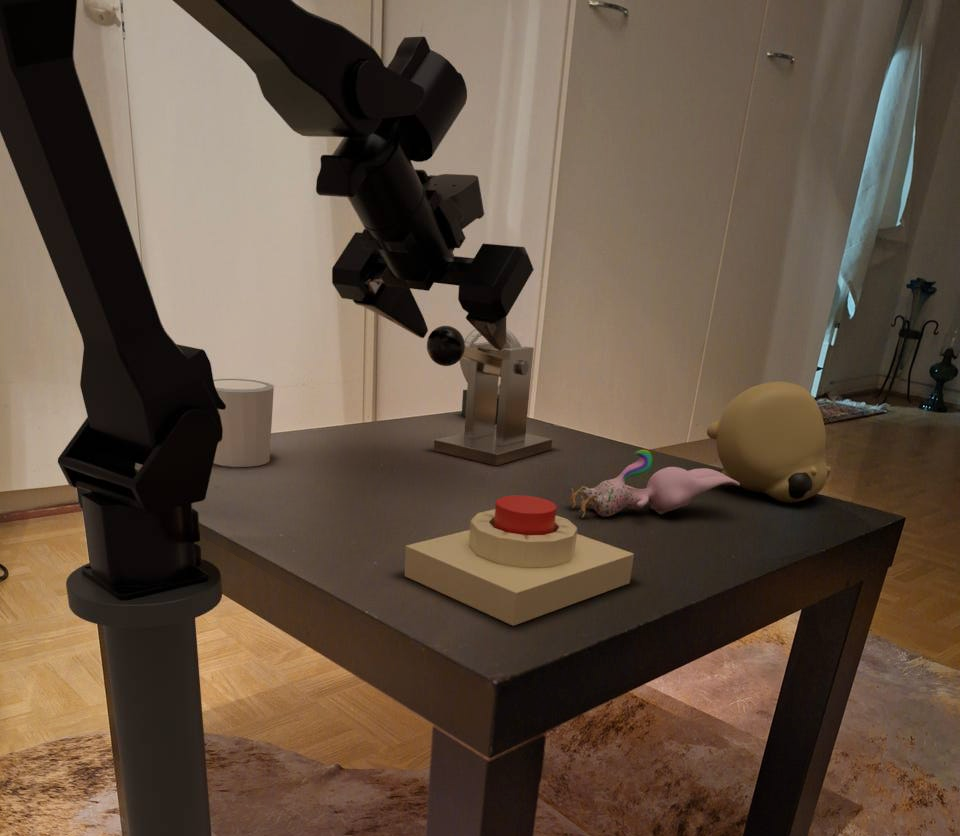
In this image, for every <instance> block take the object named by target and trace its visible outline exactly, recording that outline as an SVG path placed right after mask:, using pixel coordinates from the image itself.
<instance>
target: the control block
mask: <svg viewBox="0 0 960 836" xmlns="http://www.w3.org/2000/svg"><path fill="white" fill-rule="evenodd" d="M494 519H495V508H494V509H490V510H485V511H481V512H478V513H476V515H474V517H472V519H470V525H469V526H470V527H469V529H468V530H464V531H460V532H456V533H451V534H448V535H447V534H446V535H443V536H439V537H435V538H432V539H428V540H422V541H419V542H415V543H411V544H407V545H405V555H404V556H405V557H404V577H405V578H408V579H410V580H412V581H415V582H417V583H419V584H421V585H423V586H425V587H426V588H430V589H432V590H434V591H436V592H438V593H440V594H443V595H445V596H446V597H449V598H451V599H453V600H455V601H458V602H460V603H462V604H464V605H466V606H469V607H471V608H473V609H475V610H476V611H479V612H482V613H484V614H486V615H488V616H490V617H492V618H495V619H497V620H499V621H501V622H503V623H506V624H508V625H510V626H512V627H514V626H517V625H519V624H522V623H526V622H528V621H531V620H533V619H536V618H539V617H541V616H544V615H547V614H550V613H553V612H555V611H558V610H560V609H563V608H566V607H569V606H572V605H574V604H578V603H579V602H583V601H585V600H588V599H590V598H593V597H596V596H599V595H601V594H604V593H607V592H609V591H612V590H615V589H618V588H621V587H624V586H626V585H629V584H630V583H631V579H632V571H633V565H634V564H633V563H634V558H635V553H634V552H631V551H628V550H624V549H623V548H622V549H621V548H619V547H617V546H613V545H611V544H608V543H604V542H603V541H599V540H596V539H593V538H591V537H587V536H585V535H582V534H579V533H578V527H577V526H576V525H575V524H574V523H573V522H571V521H570V520H569V519H567V518H565V517H562V516H559V515H556V517H555V526H554V532H553V533H550V534H546V535H521V534H514V533H507V532H504V531H501V530H499V529H496V528H494Z"/></svg>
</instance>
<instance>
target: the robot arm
mask: <svg viewBox="0 0 960 836" xmlns="http://www.w3.org/2000/svg"><path fill="white" fill-rule="evenodd" d="M172 1H173V2H174V3H175V4H176V5H177V6H179V7H180V8H181V9H182V10H183V11H184V12H185V13H186V14H188V15H189V16H191V18H193V19H194V20H195V21H196V22H198V23H199V24H200V25H201V26H202V27H203V28H205V30H207V31H208V32H209V33H210V34H211V35H213V36H214V37H215V38H216V39H217V40H219V42H221V43H222V44H223V45H224V46H225V47H227V48H228V49H229V50H230V51H232V52H233V53H234V54H235V55H236V56H238V57H239V58H240V59H241V60H242V61H243V62H244V63H245V64H246V65H247V67H249V69H250V70H251V71H252V73H254V75H255V77H256V81H257V83H258V86H259V88H260V92H261V94H262V96H263V98H264V100H265V101H266V102H267V103H268V104H269V105H270V107H271V108H273V110H274V111H275V112H276V113H277V115H279V116H280V118H281V119H282V120H283V121H284V123H286V125H287V126H288V127H289V128H290V129H291V130H292V131H293V132H295V133H296V134H298V135H300V136H302V137H307V138H308V137H309V138H313V137H315V138H321V137H322V138H341V141H340V142H339V144H338V145H337V147H336V148H335V150H334V151H333V152H332V154H321V156H320V160H319V161H320V168H319V171H318V174H317V178H316V184H315V192H316V194H317V195H318V196H323V197H324V196H325V197H337V198H347V199H348V201H349V203H350V205H351V206H352V208H353V211H354V212H355V214H356V216H357V217H358V219H359V221H360V222H361V225H362V226H363V228H364V229H362V231H361V232H359V231H358V232H357V231H356V232H354V234H353V235H352V237H351V238H350V240H349V242H348V243H347V245H346V246H345V248H344V249H343V251H342V252H341V254H340V256H339V257H338V258H337V260H336V261H335V263H334V264H333V266H332V267H331V283H332V286H333V287H334V288H335V290H336V292H337V293H338V295H339V296H340V298H341V299H344V300H352V302H353V303H354V304H355V305H357V306H361V307H363V308H364V309H365V308H366V309H367V310H369V311H371V312H372V313H375V314H376V315H378V316H381V317H383V318H384V319H386V320H388V321H390V322H392V323H394V324H395V325H397V326H399V327H401V328H402V329H404V330H406V331H407V332H409V333H411V334H413V335H415V336H416V337H418V338H420V339H424V338H425V337H426V335H427V334H428V331H429V328H428V326H427V323H426V320H425V317H424V315H423V313H422V311H421V309H420V307H419V305H418V302H417V300H416V298H415V297H414V293H413V292H412V290H419V291H427V292H430V290H431V288H432V286H433V285H434V284H442V285H449V286H458V295H457V300H458V302H459V304H460V306H461V308H462V310H464V311H465V312H466V313H467V314H466V316H465V319H466V321H467V322H468V323H470V324H471V326H472V327H473V328H474V329H476V330H477V331H478V332H479V333H480V334H481V335H482V336H481V337H483V338H484V339H485V340H486V341H487V342H489V343H490V344H491V345H492V346H493V347H495V348H496V349H497V350H500V351H501V350H502V349H503V347H504V345H505V344H506V329H507V317H508V315H509V314H510V312H511V310H512V308H513V307H514V305H515V303H516V302H517V299H518V298H519V296H520V294H521V293H522V291H523V289H524V288H525V286H526V284H527V282H528V280H529V278H530V277H531V275H532V273H533V272H534V270H535V269H534V266H533V264H532V261H531V259H530V256H529V253H528V252H527V249H526V246H518V245H517V246H516V245H507V244H494V243H482V244H481V246H480V247H479V249H478V251H477V253H476V254H475V255H474V257H469V256H468V257H467V256H457V255H455V254H454V251H455V249H461V247H462V245H463V243H465V240H466V235H465V233H464V231H463V230H464V229H465V228H467V227H468V226H469V225H471V224H472V223H474V221H476V220H477V219H479V220H480V219H482V218H483V217H484V216H485V211H484V203H483V198H482V192H481V186H480V181H479V176H477V175H474V174H456V173H455V174H453V173H442V174H435V175H433V174H429V175H428V174H427V172H426V170H425V169H415V167H414V164H413V163H412V162H415V163H422V162H426V161H429V160H430V159H431V158H432V157H433V156H434V154H435V152H436V151H437V149H438V148H439V147H440V145H441V143H442V141H443V140H444V138H445V137H446V136H447V133H448V132H449V131H450V129H451V127H452V126H453V125H454V123H455V122H456V120H457V118H458V117H459V115H460V114H461V112H462V110H463V109H464V107H465V105H466V102H467V100H468V89H467V84H466V81H465V79H464V77H463V74H461V72H459V71H457V69H456V67H455V66H454V65H453V64H452V62H450V61H449V60H448V58H446V57H445V56H443V55H442V54H441V53H438V52H436V51H435V50H432V49H431V48H430V45H429V43H428V40H427V38H426V36H422V35H421V36H407V37H406V36H405V37H404V38H403V39H402V41H401V42H400V43H399V45H398V46H397V48H396V51H395V53H394V56H393V58H392V59H391V61H390V62H389V64H388V65H387V67H386V65H385V64H384V61H383V60H382V57H381V56H380V55H379V53H378V52H377V51H376V49H375V48H374V47H373V46H372V45H371V44H369V43H368V42H367V41H365V40H363V39H362V38H361V37H359V36H358V35H356V34H355V33H354V32H352V31H351V30H349V29H348V28H346V26H343V25H341V24H339V23H336V22H334V21H332V20H329V19H327V18H324V17H322V16H319V15H317V14H315V13H312V12H310V11H308V10H307V9H304V8H303V7H301V5H299V4H297V3H296V2H295V1H294V0H172ZM77 9H78V0H0V135H1V137H2V140H3V143H4V145H5V148H6V150H7V152H8V155H9V158H10V160H11V162H12V165H13V168H14V170H15V172H16V175H17V177H18V180H19V183H20V185H21V187H22V190H23V192H24V196H25V198H26V200H27V203H28V205H29V208H30V210H31V213H32V215H33V217H34V220H35V223H36V225H37V229H38V230H39V233H40V236H41V238H42V240H43V242H44V243H43V244H44V246H45V248H46V250H47V253H48V255H49V258H50V260H51V263H52V265H53V268H54V270H55V273H56V276H57V278H58V280H59V281H58V282H59V283H60V286H61V288H62V290H63V293H64V295H65V298H66V301H67V303H68V305H69V308H70V311H71V313H72V316H73V318H74V320H75V323H76V325H77V328H78V331H79V333H80V336H81V339H82V344H83V352H82V363H81V370H80V372H81V373H80V380H79V386H80V387H79V388H80V391H81V395H82V400H83V403H84V408H85V412H86V416H87V417H86V418H85V420H84V421H83V422H82V424H81V426H80V427H79V428H78V430H77V431H76V432H75V434H74V435H73V437H72V438H71V440H70V441H69V442H68V443H67V445H66V446H65V448H64V449H63V451H62V452H61V453H60V455H59V456H58V458H57V464H58V466H59V468H60V470H61V471H62V474H63V475H64V478H65V480H66V481H67V484H68V485H69V486H70V487H72V488H75V489H76V488H79V489H82V490H84V491H87V492H85V493H82V494H81V502H82V509H83V517H84V525H85V533H86V540H87V549H88V555H89V563H90V565H86V564H85V565H86V566H83V565H82V566H83V567H82V568H81V571H82V574H83V575H84V576H86V577H87V578H88V579H90V580H91V581H93V582H94V583H95V584H97V585H98V586H100V587H101V588H103V589H104V590H105V591H107V592H108V593H110V594H111V595H113V596H114V597H115V598H117V599H118V600H122V601H126V600H131V599H135V598H140V597H144V596H148V595H152V594H157V593H161V592H165V591H169V590H174V589H178V588H182V587H186V586H191V585H195V584H199V583H203V582H207V581H208V574H207V573H206V572H204V571H202V570H201V569H199V568H197V566H200V565H201V563H202V559H203V558H202V547H201V545H198V544H197V543H198V542H200V541H201V532H200V516H199V511H197V510H196V509H195V508H193V505H192V504H195V503H200V502H203V501H205V499H206V497H207V493H208V488H209V485H210V484H209V483H210V479H211V475H212V470H213V467H214V463H213V462H214V458H215V453H216V449H217V445H218V442H220V441H221V440H222V437H223V427H222V421H221V416H220V413H219V411H218V409H221V410H225V408H226V405H225V404H224V402H223V401H222V400H221V398H220V397H219V395H218V393H217V390H216V388H215V385H214V380H215V379H214V374H213V370H212V368H213V367H212V363H211V360H210V358H209V356H208V354H207V352H206V351H205V350H204V349H203V348H197V347H193V346H188V345H184V344H183V345H182V344H179V343H176V342H175V341H174V339H173V338H172V337H171V336H170V335H169V334H168V332H167V331H166V330H165V328H164V325H163V324H162V321H161V318H160V315H159V312H158V309H157V306H156V303H155V300H154V297H153V294H152V292H151V287H150V285H149V282H148V279H147V276H146V274H145V270H144V267H143V265H142V261H141V259H140V258H141V257H140V256H139V252H138V250H137V247H136V244H135V240H134V238H133V235H132V232H131V229H130V228H131V227H130V225H129V223H128V220H127V216H126V214H125V210H124V208H123V205H122V202H121V199H120V196H119V193H118V190H117V187H116V184H115V181H114V178H113V176H112V172H111V169H110V166H109V163H108V160H107V157H106V155H105V151H104V148H103V145H102V142H101V139H100V136H99V134H98V131H97V128H96V125H95V121H94V119H93V116H92V115H93V114H92V113H91V110H90V107H89V103H88V101H87V98H86V95H85V91H84V89H83V86H82V82H81V79H80V77H79V74H78V71H77V67H76V62H75V55H74V54H75V53H74V50H75V36H76V26H77V25H76V24H77ZM136 465H140V466H141V467H140V469H137V468H136Z"/></svg>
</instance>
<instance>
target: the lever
mask: <svg viewBox="0 0 960 836" xmlns="http://www.w3.org/2000/svg"><path fill="white" fill-rule="evenodd" d="M464 340H465V338H464V336H463V334H462V333H461V332H460V331H459V330H458V329H457V328H456V327H453V326H450V325H441V326H438V327H435V328H434V329H433V330H432V331H431V333H429V335H428V337H427V340H426V352H427V354H428V357H429V359H431V360H432V361H433V362H434V363H435V364H437V365H439V366H442V367H450V366H453V365H456V364H457V363H459V362H460V361H459V360H460V359H461V358H465V359H468V360H471V361H475V362H478V363H481V364H484V368H483V372H484V373H487V374H491V375H494V376H498V377H499V378H501V367H502V354H503V351H502V350H501V351H500V350H495V349H489V348H487V353H485V352H482V351H479V350H476V349H473V348H470V347H467V346H465V342H464Z"/></svg>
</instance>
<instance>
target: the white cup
mask: <svg viewBox="0 0 960 836" xmlns="http://www.w3.org/2000/svg"><path fill="white" fill-rule="evenodd" d="M213 380H214V385H215V388H216V390H217V393H218V395H219V397H220V398H221V400H222V401H223V402H224V404H225V405H226V408H225V410H221V409H218V411H219V413H220V416H221V421H222V427H223V437H222V440H221V441H220V442H218V445H217V449H216V453H215V458H214V462H213V465H218V466H223V467H229V468H230V467H231V468H249V467H258V466H263V465H266V464H268V463H269V462H270V458H271V444H272V443H271V442H272V441H271V440H272V427H273V426H272V424H273V423H272V422H273V406H274V393H275V392H274V391H275V385H273V384H272V383H269V382H266V381H260V380H253V379H245V378H217V379H213Z"/></svg>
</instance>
